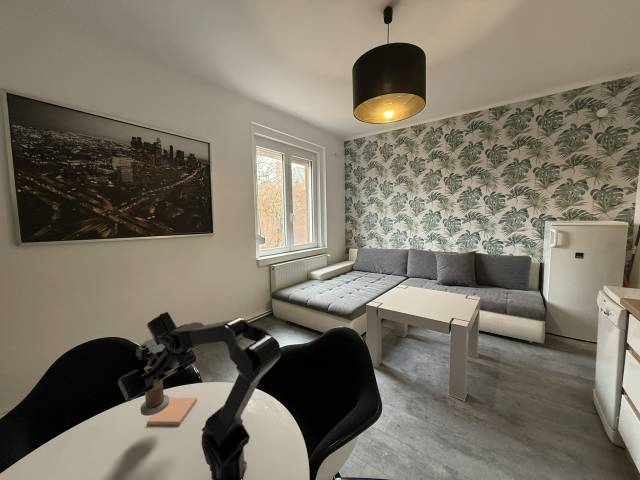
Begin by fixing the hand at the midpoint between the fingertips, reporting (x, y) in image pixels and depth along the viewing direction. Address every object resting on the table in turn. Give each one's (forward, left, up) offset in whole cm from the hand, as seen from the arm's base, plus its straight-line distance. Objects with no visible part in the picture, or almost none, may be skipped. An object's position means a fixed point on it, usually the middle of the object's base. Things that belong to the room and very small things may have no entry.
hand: (151, 383), depth 73 cm
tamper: (-1, +1, -7) cm, 7 cm away
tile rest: (-2, -6, -14) cm, 15 cm away
